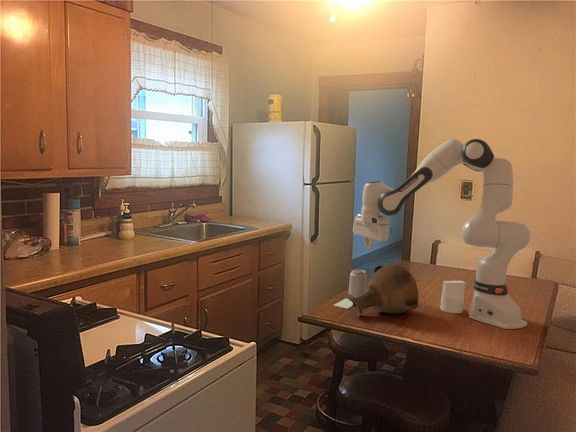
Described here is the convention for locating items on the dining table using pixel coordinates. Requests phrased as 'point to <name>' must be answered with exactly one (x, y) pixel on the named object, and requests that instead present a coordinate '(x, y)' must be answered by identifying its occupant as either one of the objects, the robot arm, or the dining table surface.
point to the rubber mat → (344, 304)
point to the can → (357, 283)
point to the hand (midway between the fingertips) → (368, 247)
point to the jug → (389, 291)
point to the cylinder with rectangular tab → (453, 296)
